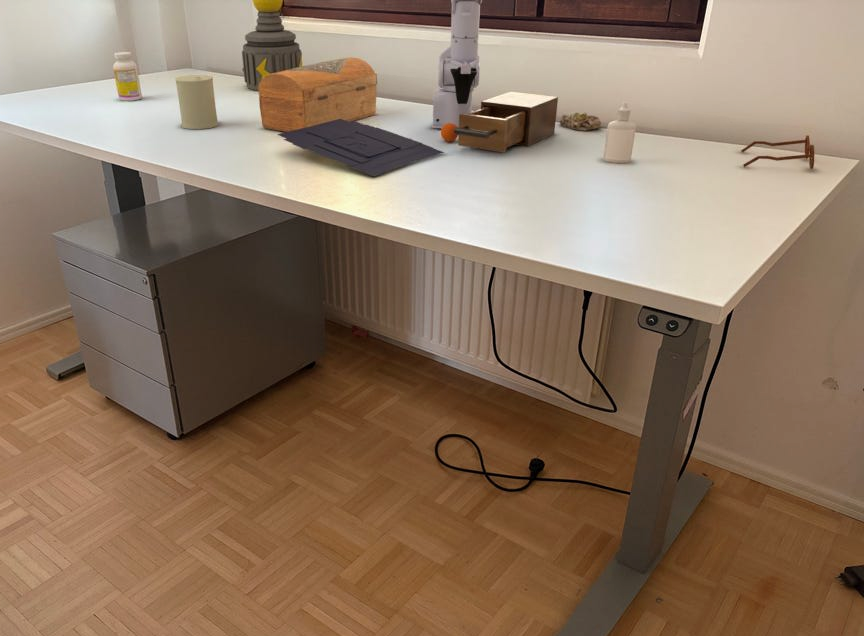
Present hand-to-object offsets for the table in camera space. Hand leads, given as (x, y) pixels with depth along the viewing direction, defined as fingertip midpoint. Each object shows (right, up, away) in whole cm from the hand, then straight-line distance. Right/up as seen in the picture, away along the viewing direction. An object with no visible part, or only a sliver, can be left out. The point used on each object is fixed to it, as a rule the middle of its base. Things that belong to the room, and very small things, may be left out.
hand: (462, 103), depth 164 cm
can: (-64, +3, +26) cm, 70 cm away
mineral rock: (+32, +1, +21) cm, 38 cm away
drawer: (+6, -8, +3) cm, 11 cm away
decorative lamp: (-52, +30, +73) cm, 95 cm away
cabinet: (+14, -4, +13) cm, 20 cm away
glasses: (+65, -15, -8) cm, 67 cm away
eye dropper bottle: (+32, -15, -7) cm, 36 cm away
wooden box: (-34, +5, +29) cm, 45 cm away
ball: (-2, -4, +8) cm, 9 cm away
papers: (-23, -12, 0) cm, 26 cm away
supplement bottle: (-93, +21, +57) cm, 111 cm away
